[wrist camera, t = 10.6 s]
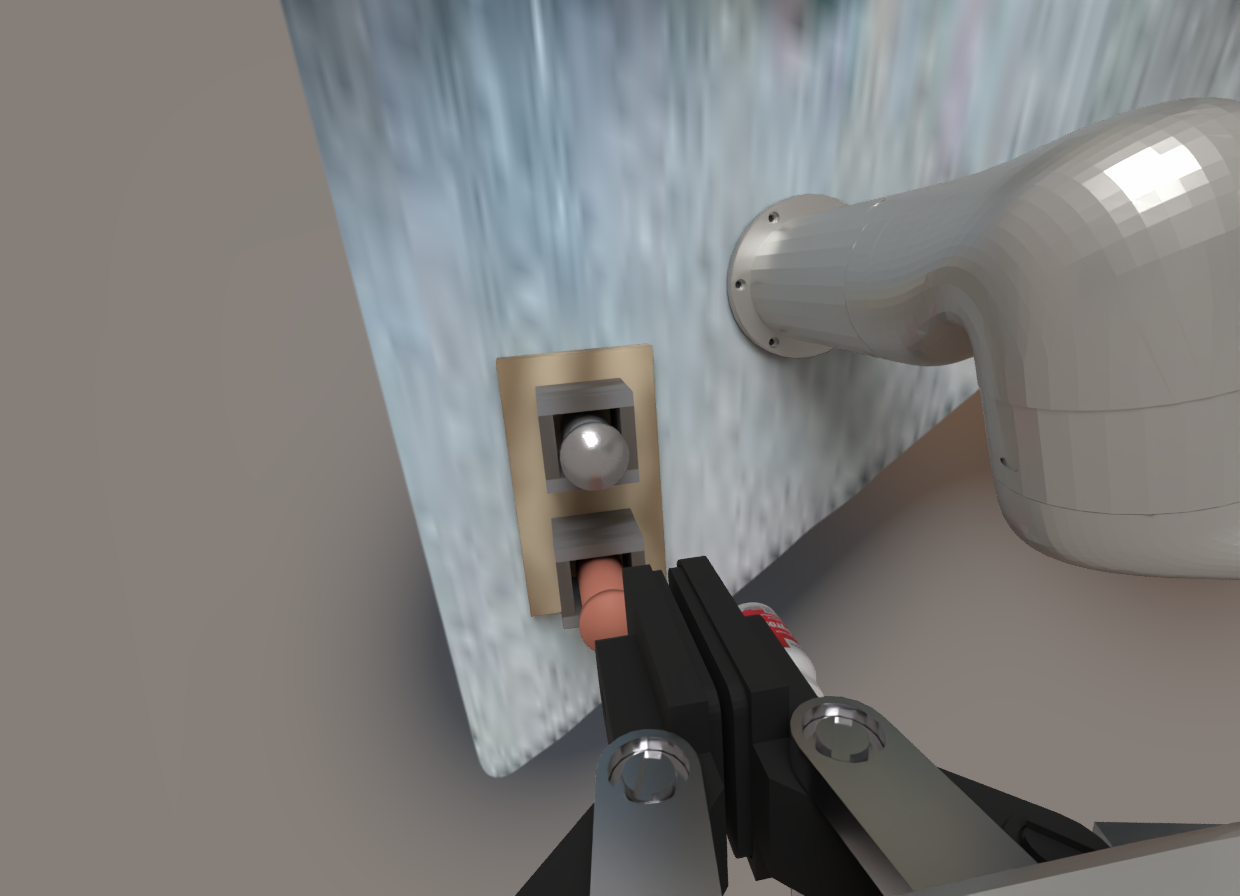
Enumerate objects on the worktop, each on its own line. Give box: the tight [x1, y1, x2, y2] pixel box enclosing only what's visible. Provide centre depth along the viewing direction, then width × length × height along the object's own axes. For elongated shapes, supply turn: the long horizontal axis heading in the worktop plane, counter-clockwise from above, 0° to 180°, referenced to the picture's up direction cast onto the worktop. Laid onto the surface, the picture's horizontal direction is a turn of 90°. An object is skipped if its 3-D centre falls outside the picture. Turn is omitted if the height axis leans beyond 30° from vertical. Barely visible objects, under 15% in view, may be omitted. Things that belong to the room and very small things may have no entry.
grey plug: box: [560, 410, 629, 491], centre depth 41 cm, size 4×4×9 cm
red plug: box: [576, 554, 628, 651], centre depth 43 cm, size 4×4×9 cm
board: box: [496, 344, 667, 629], centre depth 46 cm, size 12×22×8 cm, turn 5°
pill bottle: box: [738, 602, 824, 697], centre depth 51 cm, size 6×6×11 cm
